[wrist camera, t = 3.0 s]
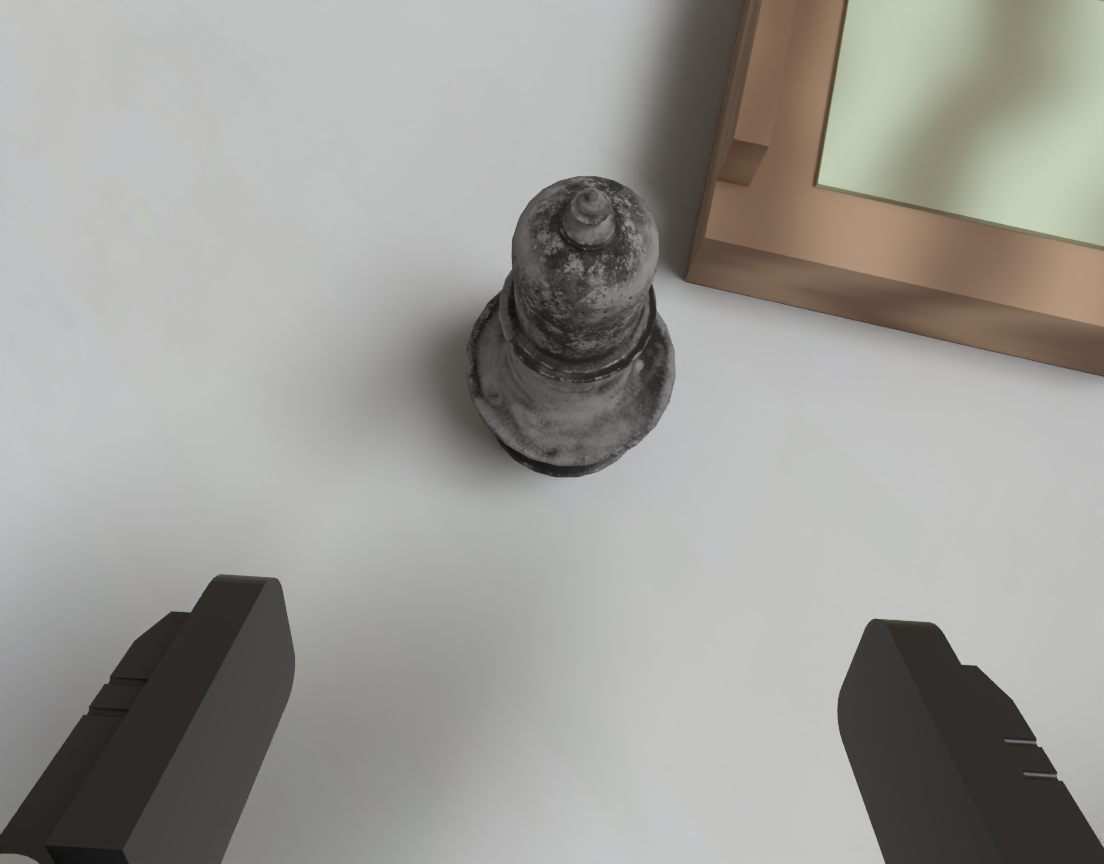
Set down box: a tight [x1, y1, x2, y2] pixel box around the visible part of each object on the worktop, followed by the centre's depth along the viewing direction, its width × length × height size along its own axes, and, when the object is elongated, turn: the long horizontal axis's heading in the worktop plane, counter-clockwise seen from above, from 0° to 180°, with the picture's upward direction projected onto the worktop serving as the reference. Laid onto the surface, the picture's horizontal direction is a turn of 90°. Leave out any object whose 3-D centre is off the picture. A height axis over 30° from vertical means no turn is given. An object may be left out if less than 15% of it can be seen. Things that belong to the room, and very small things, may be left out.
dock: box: [685, 0, 1104, 376], centre depth 23 cm, size 15×14×5 cm
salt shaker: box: [466, 176, 675, 477], centre depth 18 cm, size 6×6×12 cm
